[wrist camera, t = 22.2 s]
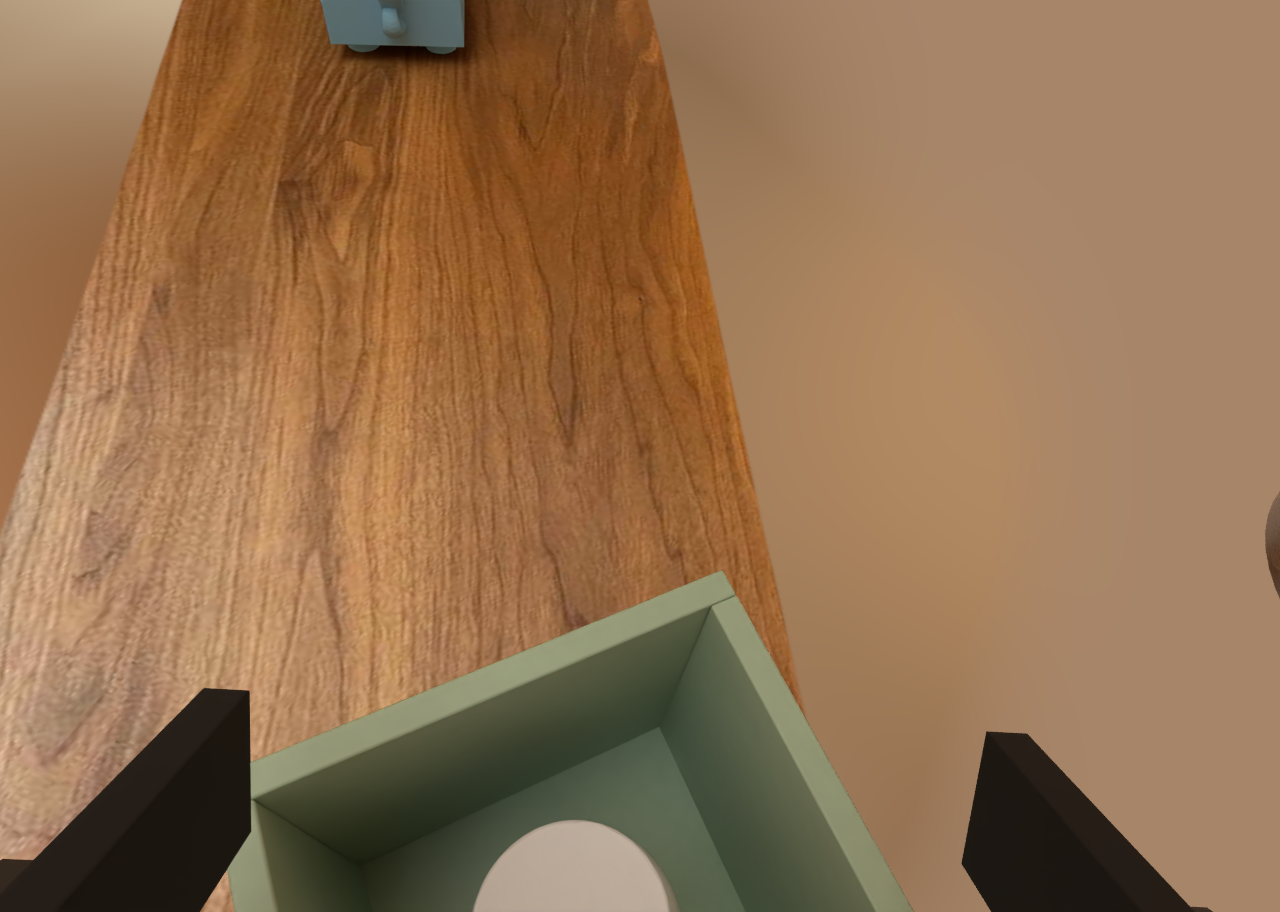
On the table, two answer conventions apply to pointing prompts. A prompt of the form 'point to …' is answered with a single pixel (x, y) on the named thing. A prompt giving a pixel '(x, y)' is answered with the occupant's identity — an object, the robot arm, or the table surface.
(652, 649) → the waste bin
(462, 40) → the teapot
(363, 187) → the table surface
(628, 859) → the pill bottle
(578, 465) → the table surface
